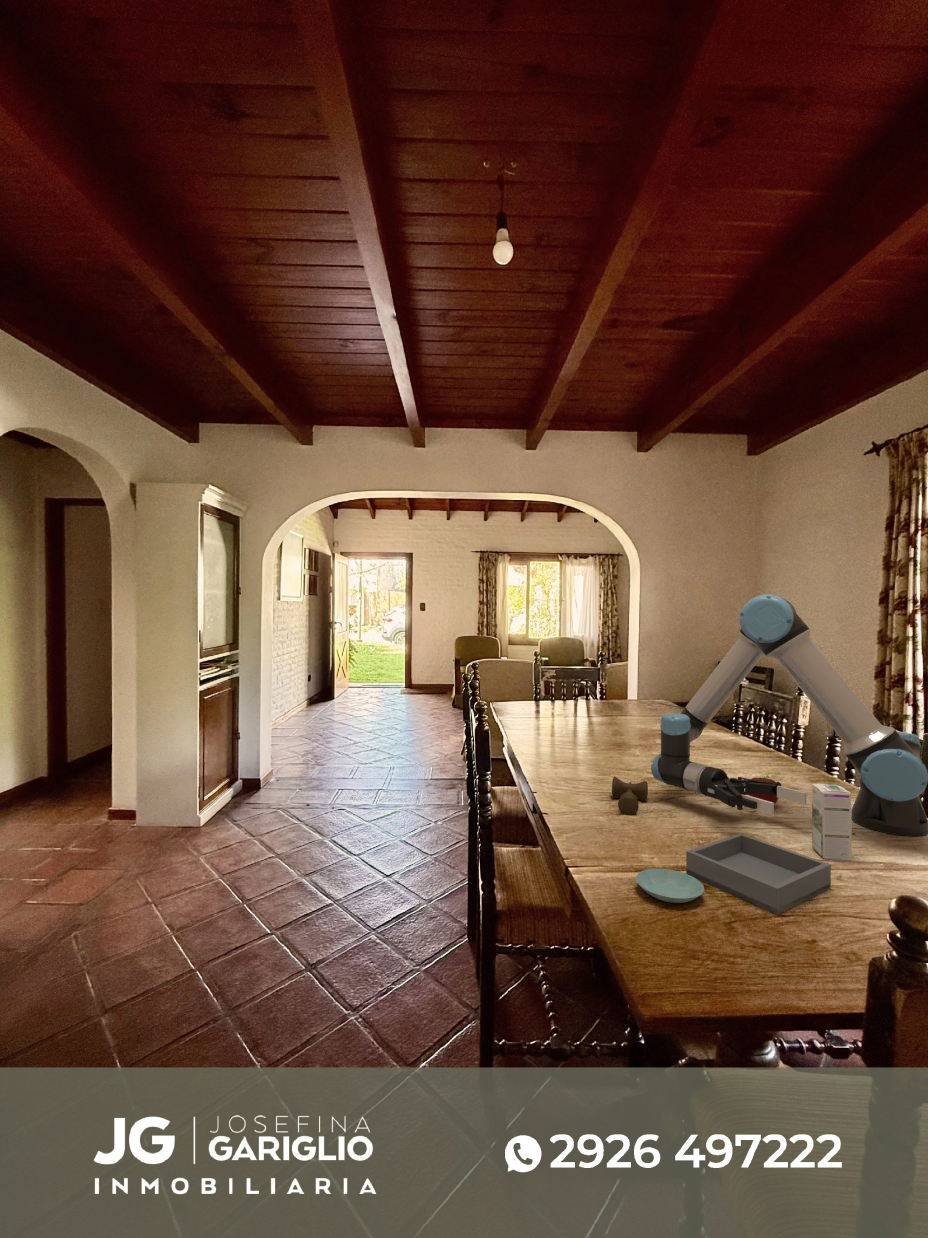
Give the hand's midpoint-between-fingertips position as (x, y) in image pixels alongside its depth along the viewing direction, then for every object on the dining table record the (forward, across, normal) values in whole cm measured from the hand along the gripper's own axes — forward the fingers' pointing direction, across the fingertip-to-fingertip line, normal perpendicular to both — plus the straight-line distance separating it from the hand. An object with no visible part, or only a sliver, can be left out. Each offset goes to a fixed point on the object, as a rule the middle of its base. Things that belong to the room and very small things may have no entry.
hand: (790, 804), depth 128 cm
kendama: (-37, +11, -9) cm, 40 cm away
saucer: (+2, +44, -9) cm, 45 cm away
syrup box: (+9, 0, -9) cm, 12 cm away
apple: (-17, -18, -9) cm, 27 cm away
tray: (+7, +25, -8) cm, 28 cm away
